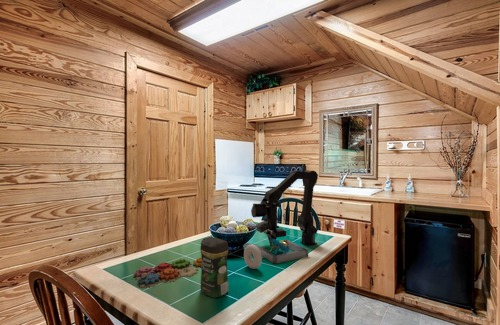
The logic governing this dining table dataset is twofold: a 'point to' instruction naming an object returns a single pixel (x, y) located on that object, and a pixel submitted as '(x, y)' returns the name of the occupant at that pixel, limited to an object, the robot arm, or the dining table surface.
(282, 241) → the gold rounded dome
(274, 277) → the dining table surface
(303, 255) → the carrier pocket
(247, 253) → the donut
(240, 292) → the dining table surface
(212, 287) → the coffee jar
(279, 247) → the gear
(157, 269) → the gear puzzle
